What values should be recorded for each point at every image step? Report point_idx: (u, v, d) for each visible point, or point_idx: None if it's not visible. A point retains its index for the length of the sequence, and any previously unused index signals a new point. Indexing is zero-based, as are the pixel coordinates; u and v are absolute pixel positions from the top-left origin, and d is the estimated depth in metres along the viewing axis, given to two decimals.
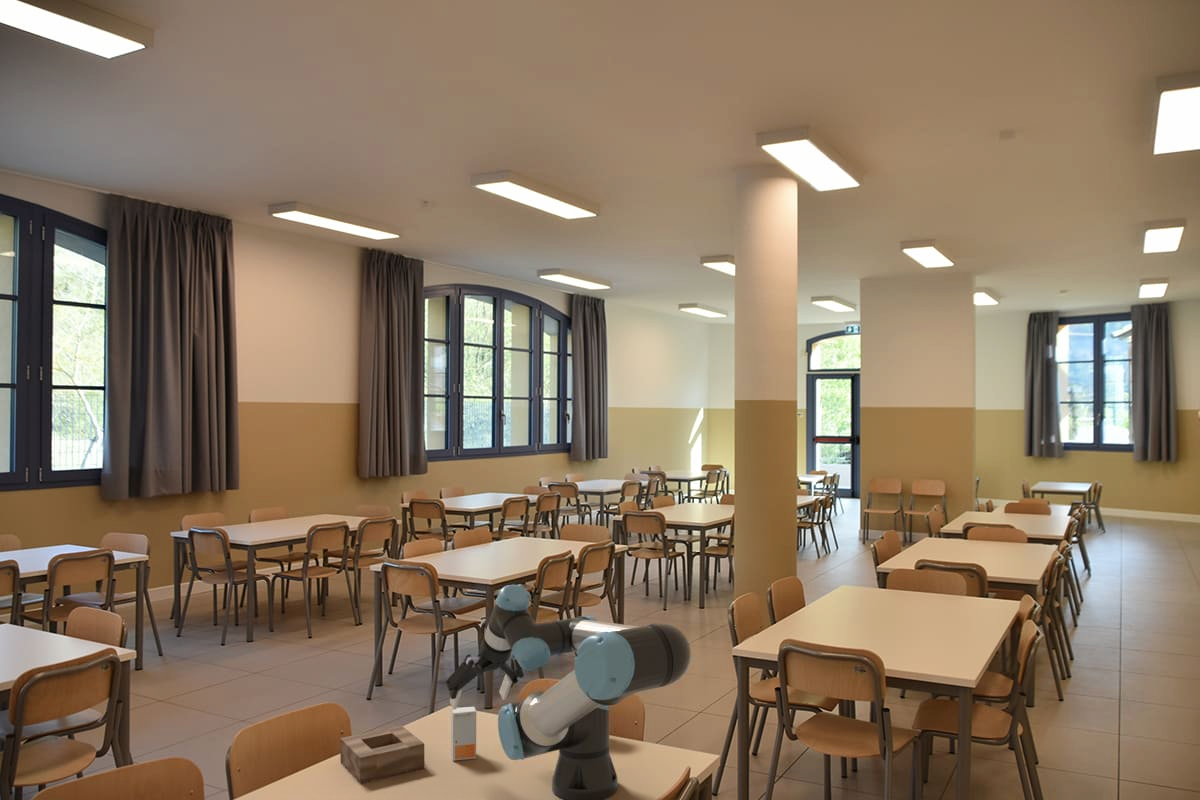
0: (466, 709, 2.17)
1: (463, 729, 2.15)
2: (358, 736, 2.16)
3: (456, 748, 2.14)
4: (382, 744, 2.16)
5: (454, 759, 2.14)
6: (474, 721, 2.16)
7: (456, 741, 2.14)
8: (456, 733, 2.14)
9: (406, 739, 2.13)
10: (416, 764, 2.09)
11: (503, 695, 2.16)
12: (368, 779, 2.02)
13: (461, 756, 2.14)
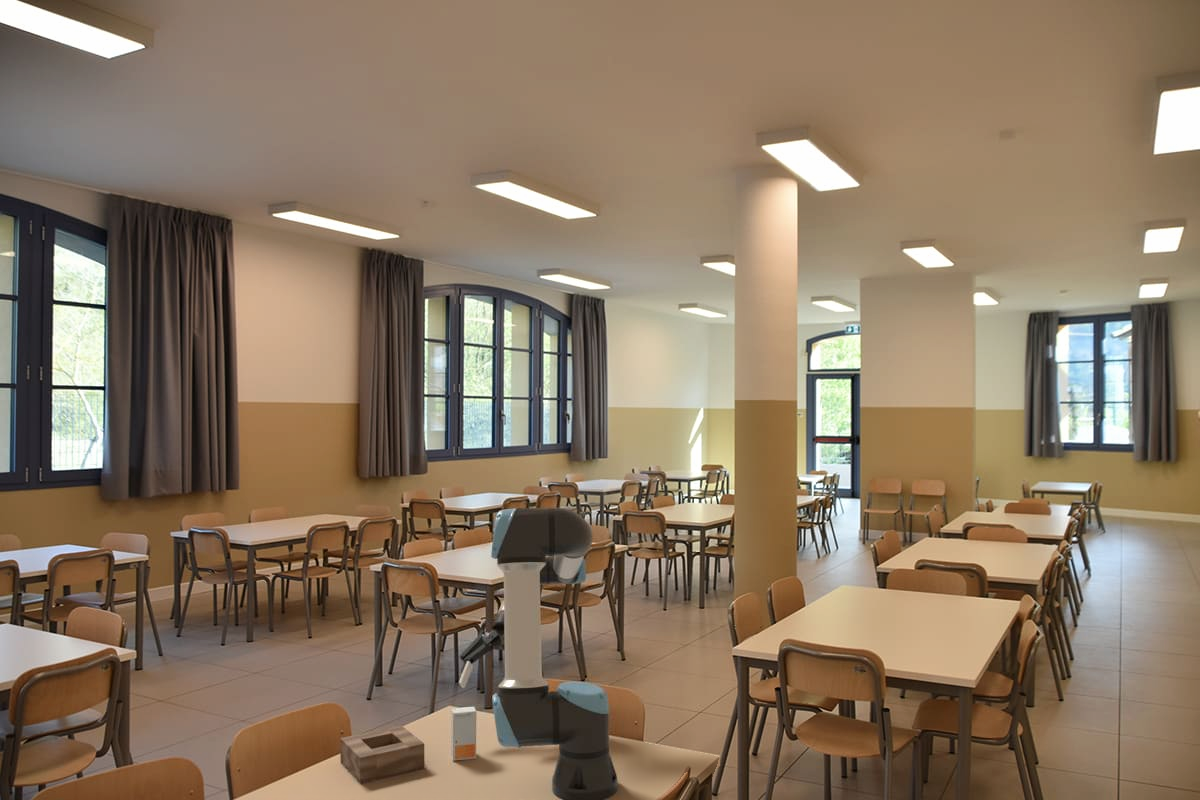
0: (466, 709, 2.17)
1: (463, 729, 2.15)
2: (358, 736, 2.16)
3: (456, 748, 2.14)
4: (382, 744, 2.16)
5: (454, 759, 2.14)
6: (474, 721, 2.16)
7: (456, 741, 2.14)
8: (456, 733, 2.14)
9: (406, 739, 2.13)
10: (416, 764, 2.09)
11: None
12: (368, 779, 2.02)
13: (461, 756, 2.14)
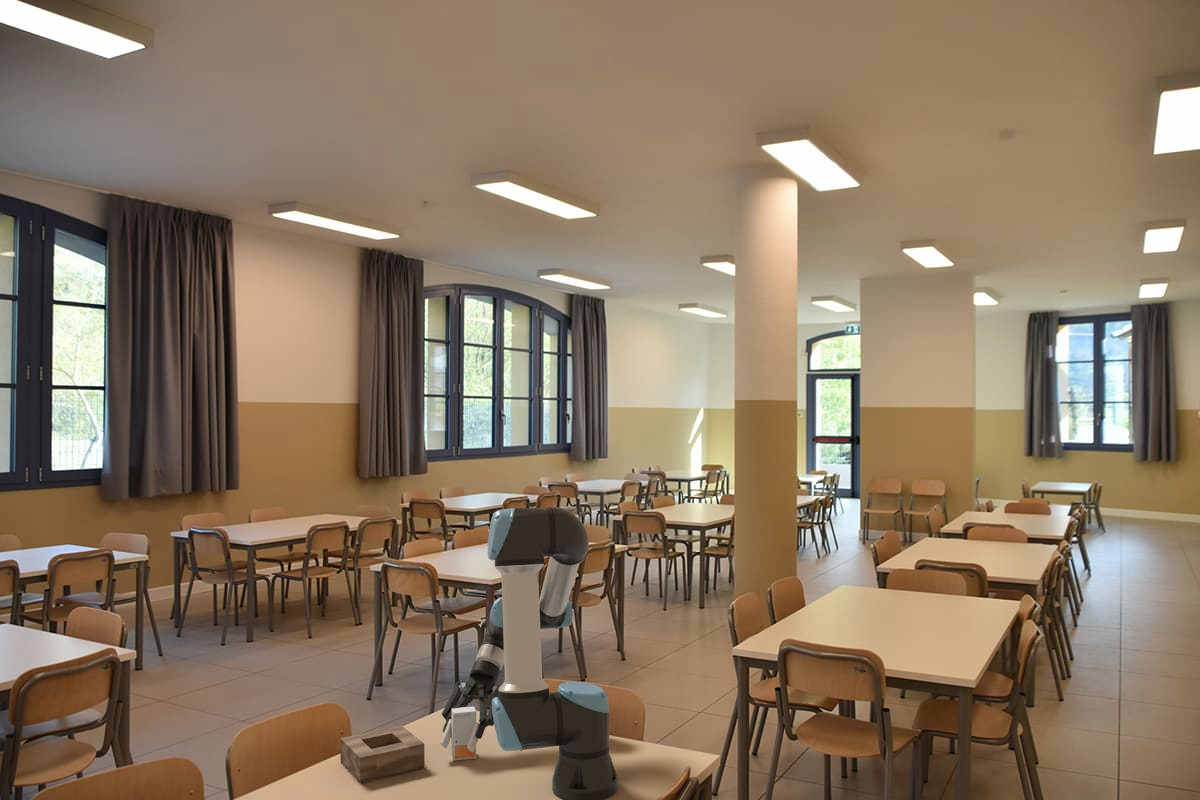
0: (466, 709, 2.17)
1: (463, 729, 2.15)
2: (358, 736, 2.16)
3: (456, 748, 2.14)
4: (382, 744, 2.16)
5: (454, 759, 2.14)
6: (474, 721, 2.16)
7: (455, 741, 2.14)
8: (456, 733, 2.14)
9: (406, 739, 2.13)
10: (416, 764, 2.09)
11: None
12: (368, 779, 2.02)
13: (461, 756, 2.14)
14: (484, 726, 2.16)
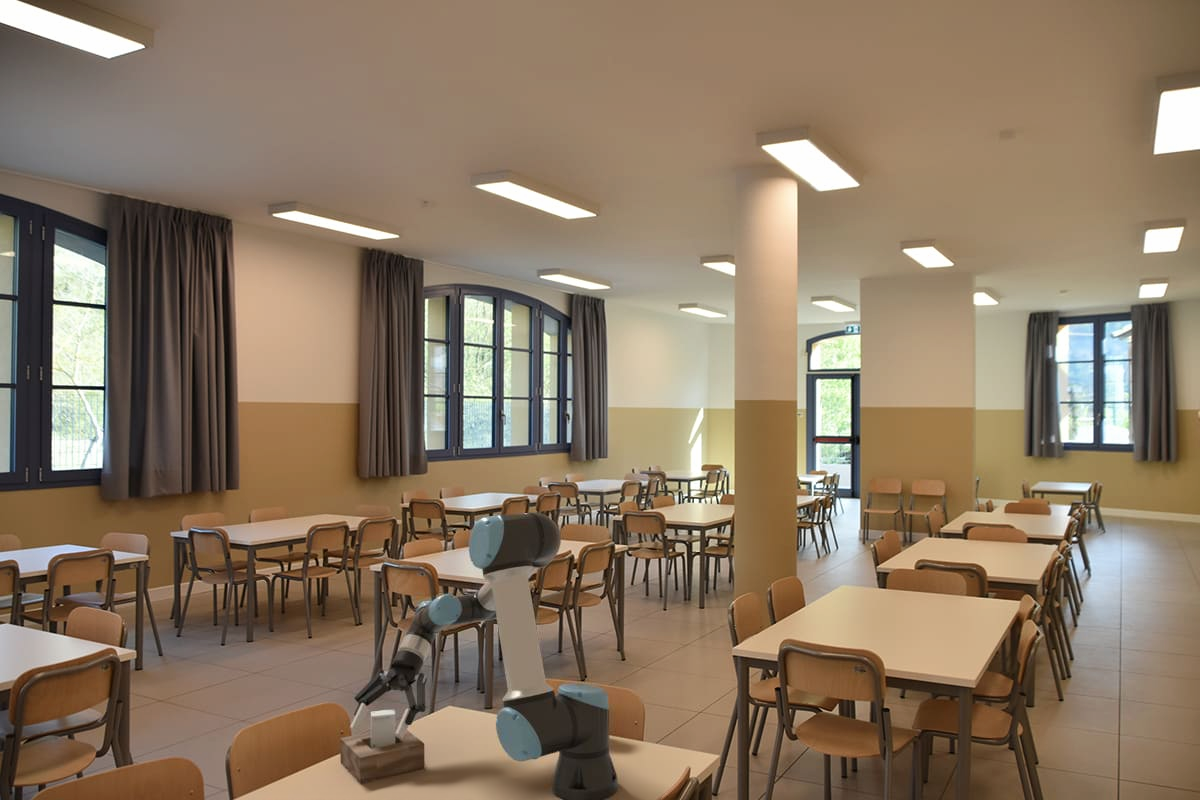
0: (386, 711, 2.13)
1: (381, 732, 2.10)
2: (358, 736, 2.16)
3: None
4: None
5: None
6: (393, 724, 2.11)
7: (374, 745, 2.10)
8: (374, 737, 2.10)
9: (406, 739, 2.13)
10: (416, 764, 2.09)
11: None
12: (368, 779, 2.02)
13: None
14: (414, 712, 2.11)
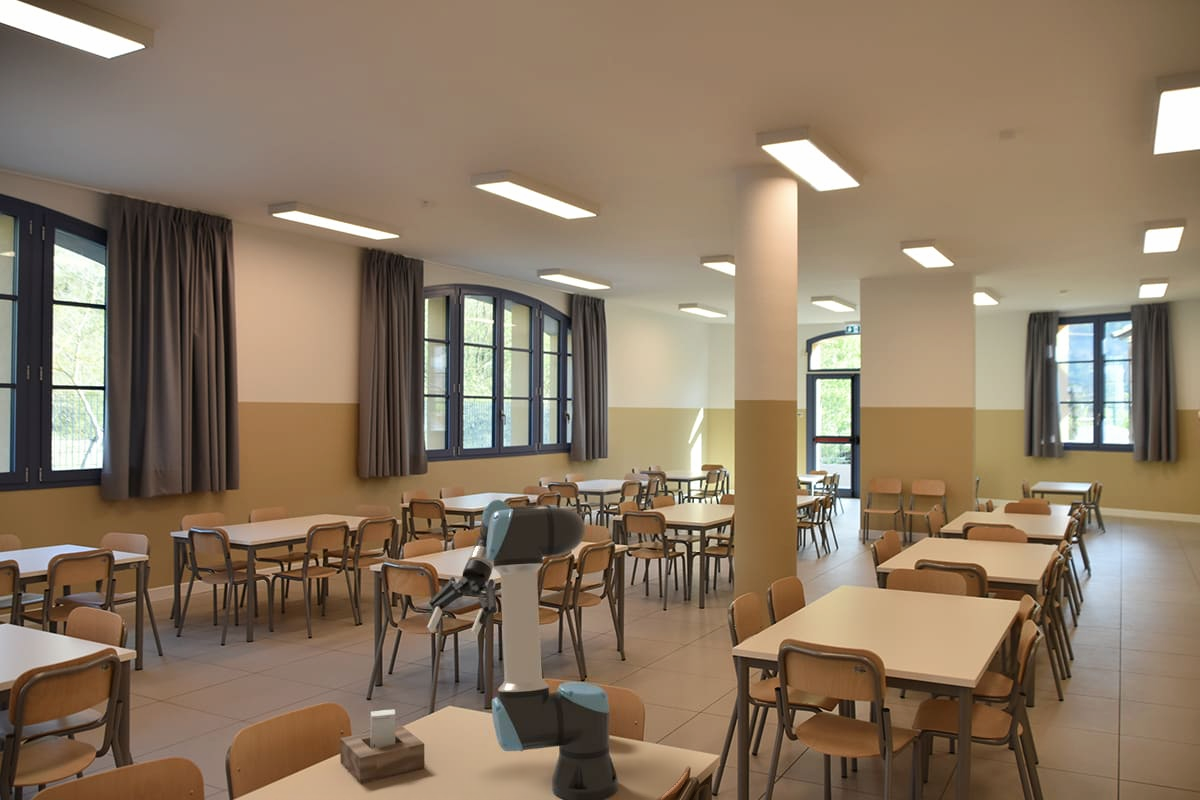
0: (386, 711, 2.13)
1: (381, 732, 2.10)
2: (358, 736, 2.16)
3: None
4: None
5: None
6: (393, 724, 2.11)
7: (374, 745, 2.10)
8: (374, 737, 2.10)
9: (406, 739, 2.13)
10: (416, 764, 2.09)
11: None
12: (368, 779, 2.02)
13: None
14: (487, 613, 2.28)
